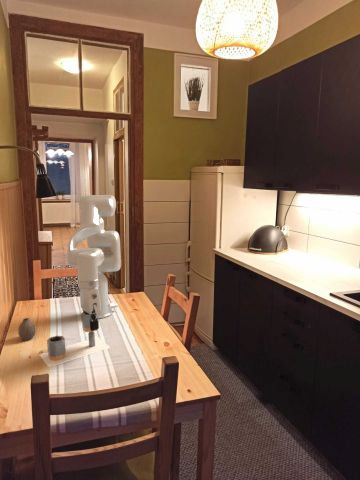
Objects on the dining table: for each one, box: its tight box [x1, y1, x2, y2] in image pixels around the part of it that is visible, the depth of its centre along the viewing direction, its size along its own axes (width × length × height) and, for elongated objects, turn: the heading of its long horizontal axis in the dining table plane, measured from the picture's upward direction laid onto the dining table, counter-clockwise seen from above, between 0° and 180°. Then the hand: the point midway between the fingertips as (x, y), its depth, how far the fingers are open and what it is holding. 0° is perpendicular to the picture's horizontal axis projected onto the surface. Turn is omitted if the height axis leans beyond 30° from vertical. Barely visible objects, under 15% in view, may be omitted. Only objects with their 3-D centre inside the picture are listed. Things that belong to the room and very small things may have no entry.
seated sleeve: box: [46, 335, 66, 361], centre depth 131 cm, size 6×6×7 cm
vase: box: [17, 317, 37, 341], centre depth 150 cm, size 7×7×9 cm
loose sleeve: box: [81, 311, 100, 333], centre depth 138 cm, size 6×6×7 cm
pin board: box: [38, 331, 111, 368], centre depth 135 cm, size 24×12×8 cm, turn 127°
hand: (91, 326), depth 139 cm, fingers closed on loose sleeve, 5 cm apart
